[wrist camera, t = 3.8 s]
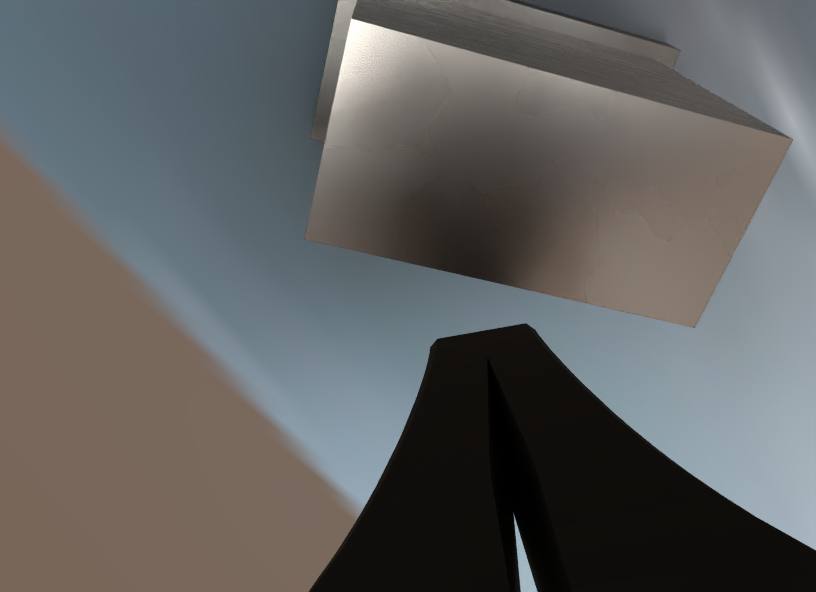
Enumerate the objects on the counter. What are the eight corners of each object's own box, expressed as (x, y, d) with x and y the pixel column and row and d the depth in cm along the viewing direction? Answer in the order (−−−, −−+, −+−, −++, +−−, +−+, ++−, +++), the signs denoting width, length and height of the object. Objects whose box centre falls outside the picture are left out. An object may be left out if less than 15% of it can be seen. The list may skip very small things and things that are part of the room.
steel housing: (666, 43, 15) (831, 125, 10) (602, 200, 17) (710, 349, 11) (349, -48, 14) (323, -17, 9) (313, 128, 16) (272, 251, 10)
